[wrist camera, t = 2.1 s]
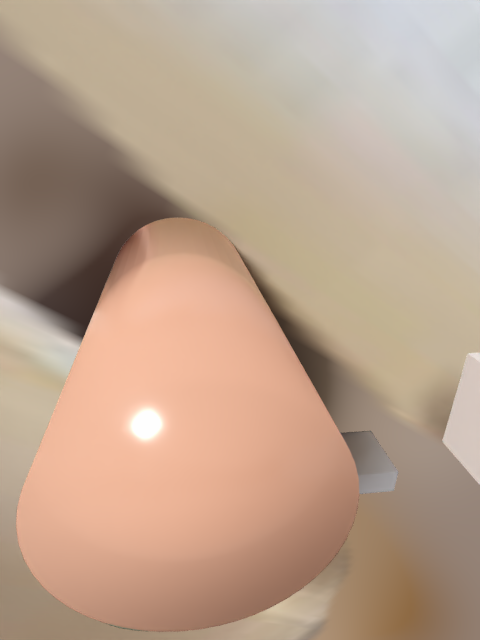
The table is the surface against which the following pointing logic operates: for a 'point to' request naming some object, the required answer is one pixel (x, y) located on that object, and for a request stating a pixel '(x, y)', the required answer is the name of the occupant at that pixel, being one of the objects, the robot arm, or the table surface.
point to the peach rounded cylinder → (184, 449)
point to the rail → (371, 462)
